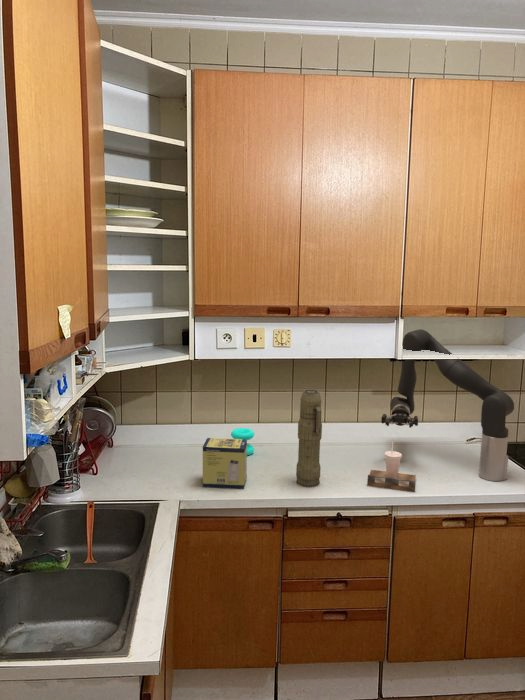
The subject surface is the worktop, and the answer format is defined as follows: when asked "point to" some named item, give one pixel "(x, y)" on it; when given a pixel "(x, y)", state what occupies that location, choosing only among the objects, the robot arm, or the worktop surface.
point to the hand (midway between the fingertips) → (398, 424)
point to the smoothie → (392, 462)
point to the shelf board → (391, 481)
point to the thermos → (309, 439)
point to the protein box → (225, 463)
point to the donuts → (244, 437)
